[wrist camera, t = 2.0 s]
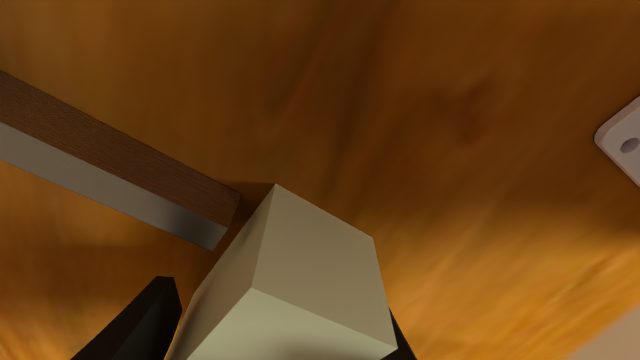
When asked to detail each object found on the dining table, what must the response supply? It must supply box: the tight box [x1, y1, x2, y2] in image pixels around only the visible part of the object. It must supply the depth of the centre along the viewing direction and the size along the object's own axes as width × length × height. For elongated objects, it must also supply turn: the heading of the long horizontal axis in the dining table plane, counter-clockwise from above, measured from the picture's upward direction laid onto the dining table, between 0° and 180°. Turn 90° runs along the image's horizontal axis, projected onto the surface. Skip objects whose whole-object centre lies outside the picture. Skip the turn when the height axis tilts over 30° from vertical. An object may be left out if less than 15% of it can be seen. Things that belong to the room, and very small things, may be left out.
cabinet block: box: [166, 183, 398, 360], centre depth 11 cm, size 4×8×4 cm, turn 145°
